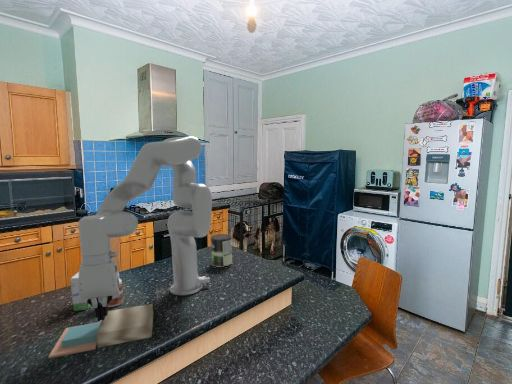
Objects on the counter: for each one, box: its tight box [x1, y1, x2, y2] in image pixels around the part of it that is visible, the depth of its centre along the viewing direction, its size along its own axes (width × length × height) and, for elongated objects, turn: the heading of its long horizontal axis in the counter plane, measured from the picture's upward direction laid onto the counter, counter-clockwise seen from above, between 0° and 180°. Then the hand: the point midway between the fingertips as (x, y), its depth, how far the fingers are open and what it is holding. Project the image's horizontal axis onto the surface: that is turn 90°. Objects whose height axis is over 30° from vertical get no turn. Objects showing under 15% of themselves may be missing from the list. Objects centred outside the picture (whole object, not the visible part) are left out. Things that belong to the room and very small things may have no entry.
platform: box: [97, 303, 154, 348], centre depth 87 cm, size 14×13×4 cm
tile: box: [62, 321, 102, 348], centre depth 83 cm, size 9×7×2 cm
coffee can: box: [210, 233, 233, 268], centre depth 142 cm, size 10×10×14 cm
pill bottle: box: [107, 272, 124, 308], centre depth 104 cm, size 6×6×11 cm
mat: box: [48, 321, 101, 359], centre depth 84 cm, size 11×14×1 cm
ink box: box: [70, 271, 92, 312], centre depth 104 cm, size 8×5×12 cm, turn 10°
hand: (102, 318), depth 85 cm, fingers closed
